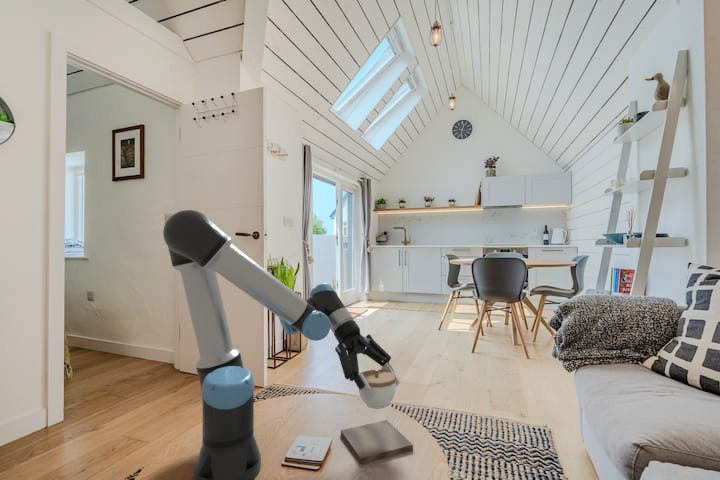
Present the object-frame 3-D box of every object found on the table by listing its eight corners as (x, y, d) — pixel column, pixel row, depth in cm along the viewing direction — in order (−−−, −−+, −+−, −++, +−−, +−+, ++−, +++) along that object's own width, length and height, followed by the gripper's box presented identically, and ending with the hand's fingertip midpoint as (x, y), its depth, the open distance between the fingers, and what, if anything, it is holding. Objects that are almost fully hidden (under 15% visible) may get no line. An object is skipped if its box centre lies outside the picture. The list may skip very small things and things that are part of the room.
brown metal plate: (361, 464, 86) (361, 458, 86) (340, 435, 100) (340, 430, 100) (413, 450, 92) (412, 444, 92) (386, 424, 106) (386, 419, 106)
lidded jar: (398, 412, 91) (397, 376, 92) (357, 413, 92) (357, 377, 92) (394, 395, 102) (394, 363, 102) (358, 396, 102) (357, 364, 103)
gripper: (362, 327, 116) (401, 386, 105) (308, 341, 99) (349, 413, 88) (374, 313, 113) (416, 372, 102) (320, 325, 96) (364, 397, 85)
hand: (385, 391), depth 95 cm, fingers closed on lidded jar, 11 cm apart
